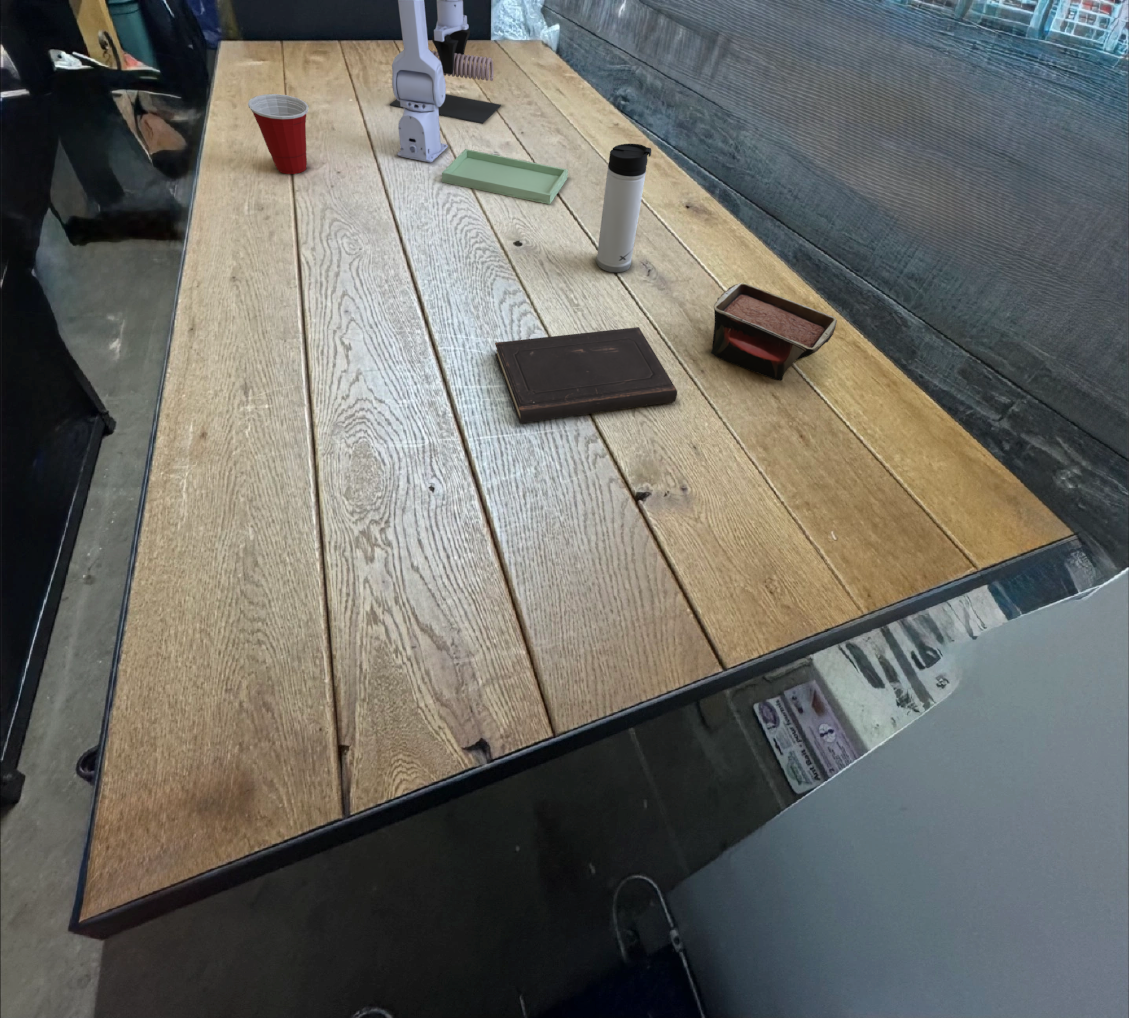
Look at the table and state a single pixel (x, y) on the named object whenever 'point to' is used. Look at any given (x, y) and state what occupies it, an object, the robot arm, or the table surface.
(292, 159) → the plastic cup
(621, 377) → the hardcover book
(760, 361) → the baking dish
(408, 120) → the robot arm
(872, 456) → the table surface
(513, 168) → the tray
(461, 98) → the mat
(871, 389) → the table surface
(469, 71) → the coil
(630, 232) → the travel mug
